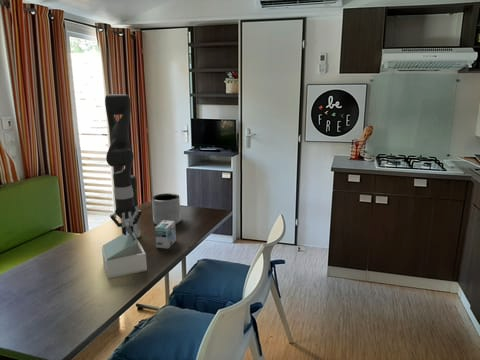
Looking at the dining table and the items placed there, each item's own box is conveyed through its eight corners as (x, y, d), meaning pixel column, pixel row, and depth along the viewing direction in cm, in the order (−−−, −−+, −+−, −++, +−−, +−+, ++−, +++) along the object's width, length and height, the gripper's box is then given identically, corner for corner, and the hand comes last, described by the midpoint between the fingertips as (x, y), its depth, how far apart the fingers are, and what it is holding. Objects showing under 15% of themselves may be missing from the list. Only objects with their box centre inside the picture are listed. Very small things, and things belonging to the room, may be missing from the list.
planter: (178, 226, 207) (176, 200, 203) (150, 227, 207) (148, 200, 203) (183, 217, 222) (181, 192, 218) (156, 217, 222) (155, 193, 219)
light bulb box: (168, 248, 178) (167, 228, 175) (155, 247, 179) (154, 227, 177) (176, 240, 188) (175, 220, 186) (164, 239, 189) (163, 219, 187)
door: (103, 246, 161) (96, 235, 159) (132, 230, 166) (125, 219, 163) (107, 260, 148) (99, 248, 146) (138, 242, 152) (131, 230, 150)
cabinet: (103, 263, 163) (101, 246, 161) (139, 256, 170) (138, 240, 168) (108, 279, 149) (106, 261, 148) (147, 270, 156) (145, 253, 154)
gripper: (138, 191, 159) (142, 228, 164) (105, 196, 153) (110, 234, 158) (142, 195, 153) (145, 234, 157) (108, 200, 147) (112, 240, 151)
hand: (127, 233), depth 157 cm, fingers closed on door, 2 cm apart
